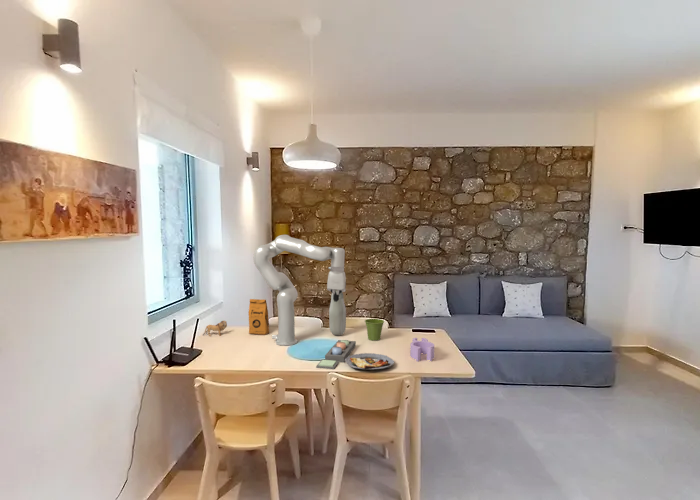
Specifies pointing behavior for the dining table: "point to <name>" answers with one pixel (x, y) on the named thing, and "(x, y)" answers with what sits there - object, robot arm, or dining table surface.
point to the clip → (421, 349)
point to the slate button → (337, 351)
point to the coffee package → (258, 317)
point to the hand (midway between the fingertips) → (335, 301)
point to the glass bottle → (337, 315)
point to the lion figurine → (216, 327)
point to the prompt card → (327, 364)
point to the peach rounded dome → (342, 345)
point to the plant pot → (374, 328)
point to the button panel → (344, 352)
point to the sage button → (345, 341)
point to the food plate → (369, 361)
